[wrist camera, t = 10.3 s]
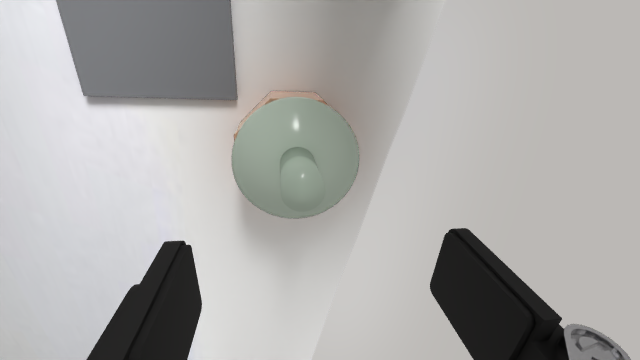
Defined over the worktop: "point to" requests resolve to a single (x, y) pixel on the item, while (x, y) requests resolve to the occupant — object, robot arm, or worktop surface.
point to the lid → (295, 157)
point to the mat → (152, 47)
